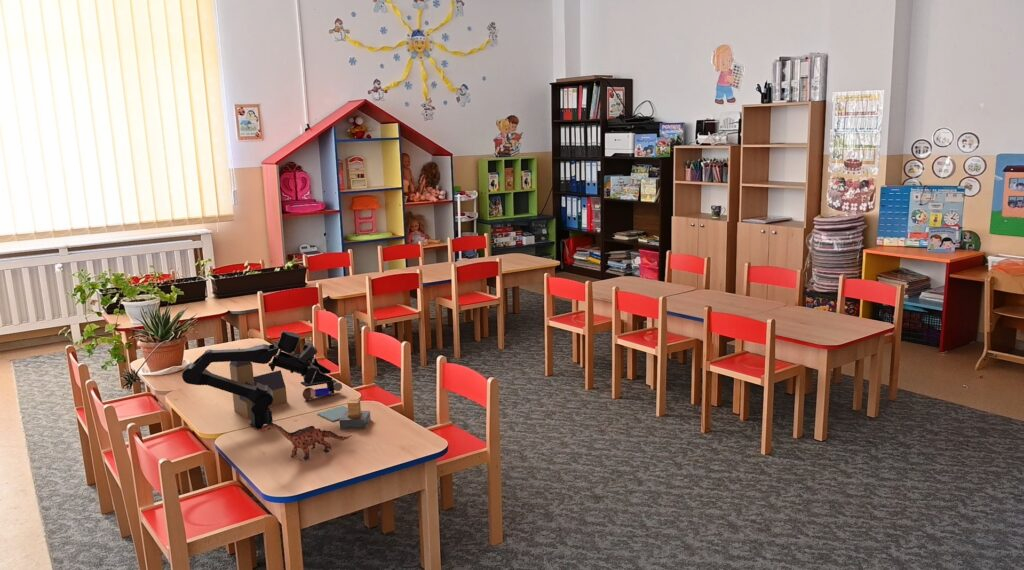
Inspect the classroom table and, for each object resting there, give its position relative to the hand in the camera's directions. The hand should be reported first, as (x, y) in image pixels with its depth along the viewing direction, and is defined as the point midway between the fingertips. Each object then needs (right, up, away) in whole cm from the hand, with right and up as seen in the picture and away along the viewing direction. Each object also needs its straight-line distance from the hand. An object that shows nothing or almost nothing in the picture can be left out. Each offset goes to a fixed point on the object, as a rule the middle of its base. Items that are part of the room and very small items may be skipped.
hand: (331, 375), depth 293 cm
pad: (+1, -15, +5) cm, 16 cm away
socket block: (+10, -17, -6) cm, 21 cm away
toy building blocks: (-29, -14, +14) cm, 35 cm away
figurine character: (-9, -12, +25) cm, 29 cm away
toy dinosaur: (-1, -23, -32) cm, 39 cm away
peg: (+10, -17, -6) cm, 21 cm away
